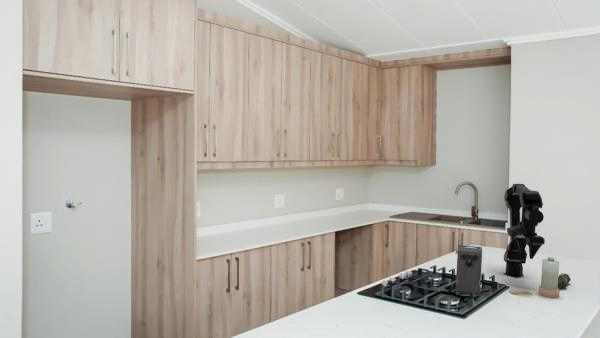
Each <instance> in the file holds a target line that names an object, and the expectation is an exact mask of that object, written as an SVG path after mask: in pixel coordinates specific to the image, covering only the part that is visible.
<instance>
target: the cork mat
mask: <svg viewBox="0 0 600 338" xmlns="http://www.w3.org/2000/svg"><path fill="white" fill-rule="evenodd" d="M508 293H509V294H511V295H513V296H518V297H525V298H526V297H527V298H528V297H529V298H530V297H533V296H534V294H533V293H532V292H531V291H528V290H527V291H525V290H522V289H521V290H520V289H510V290H509V291H508Z"/></svg>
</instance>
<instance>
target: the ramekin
mask: <svg viewBox="0 0 600 338" xmlns="http://www.w3.org/2000/svg"><path fill="white" fill-rule="evenodd" d="M560 291H561V290H559V289H557V290H554V291H553V290H546V289H543V288H541V285H539V286H538V290H537V292H538V296H540V297H543V298H548V299H559V298H560V293H561V292H560Z"/></svg>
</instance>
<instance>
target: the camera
mask: <svg viewBox="0 0 600 338" xmlns="http://www.w3.org/2000/svg"><path fill="white" fill-rule="evenodd" d="M453 253H454V254H456V255H457V257H456V263H457V264H456V275H455V289H456V292H459V293H460V294H471V293H472V292H474V294H475V295H478V296H480V297H481V286H482V283H481V282H482V266H483V265H482V264H483V263H482V261H483V247H482V246H473V245H471V246H470V245H462V244H458V245H457V249H455V250H453Z"/></svg>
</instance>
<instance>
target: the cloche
mask: <svg viewBox="0 0 600 338" xmlns="http://www.w3.org/2000/svg"><path fill="white" fill-rule="evenodd" d="M541 262H542V263H541V278H540V279H541V280H540V281H541V282H540V286H541V288H543V289H546V290H553V291H554V290H557V289H558V277H559V275H560V274H559V272H560V270H559V269H560V261H559V260H555V258H554V257H547V258H546V259H544V258H543V259H542V261H541Z"/></svg>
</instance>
